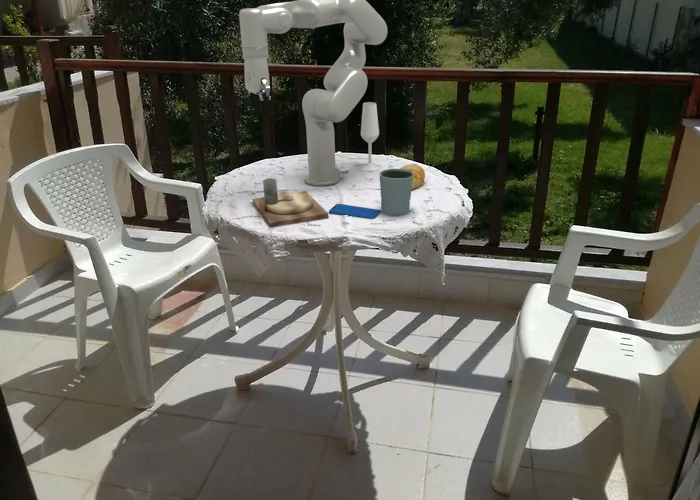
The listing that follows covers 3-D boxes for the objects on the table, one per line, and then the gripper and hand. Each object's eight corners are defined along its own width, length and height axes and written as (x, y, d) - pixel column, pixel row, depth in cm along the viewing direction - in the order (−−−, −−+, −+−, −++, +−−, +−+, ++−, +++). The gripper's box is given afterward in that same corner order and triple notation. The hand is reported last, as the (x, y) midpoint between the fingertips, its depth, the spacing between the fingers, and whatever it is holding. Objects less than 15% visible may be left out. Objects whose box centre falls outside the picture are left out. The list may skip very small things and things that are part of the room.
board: (306, 195, 196) (305, 185, 195) (328, 217, 178) (328, 207, 176) (252, 203, 190) (251, 193, 189) (270, 227, 172) (269, 216, 170)
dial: (303, 193, 192) (301, 167, 188) (320, 208, 180) (319, 180, 176) (258, 201, 187) (256, 174, 183) (273, 217, 174) (271, 188, 170)
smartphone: (374, 218, 176) (327, 211, 181) (374, 221, 176) (327, 214, 181) (382, 210, 182) (337, 203, 187) (382, 212, 182) (337, 206, 187)
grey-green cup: (373, 208, 184) (373, 171, 179) (400, 202, 188) (401, 166, 183) (391, 219, 176) (391, 180, 171) (419, 212, 180) (420, 174, 175)
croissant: (410, 204, 197) (422, 185, 192) (384, 188, 197) (395, 169, 193) (424, 182, 214) (435, 165, 210) (400, 168, 215) (411, 150, 211)
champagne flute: (360, 166, 224) (359, 102, 214) (377, 165, 225) (377, 101, 215) (362, 171, 218) (361, 105, 208) (380, 170, 219) (380, 105, 209)
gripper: (234, 51, 182) (240, 107, 189) (253, 57, 168) (258, 117, 175) (257, 49, 185) (262, 104, 192) (277, 55, 171) (282, 114, 178)
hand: (260, 110), depth 184 cm, fingers open, 9 cm apart
